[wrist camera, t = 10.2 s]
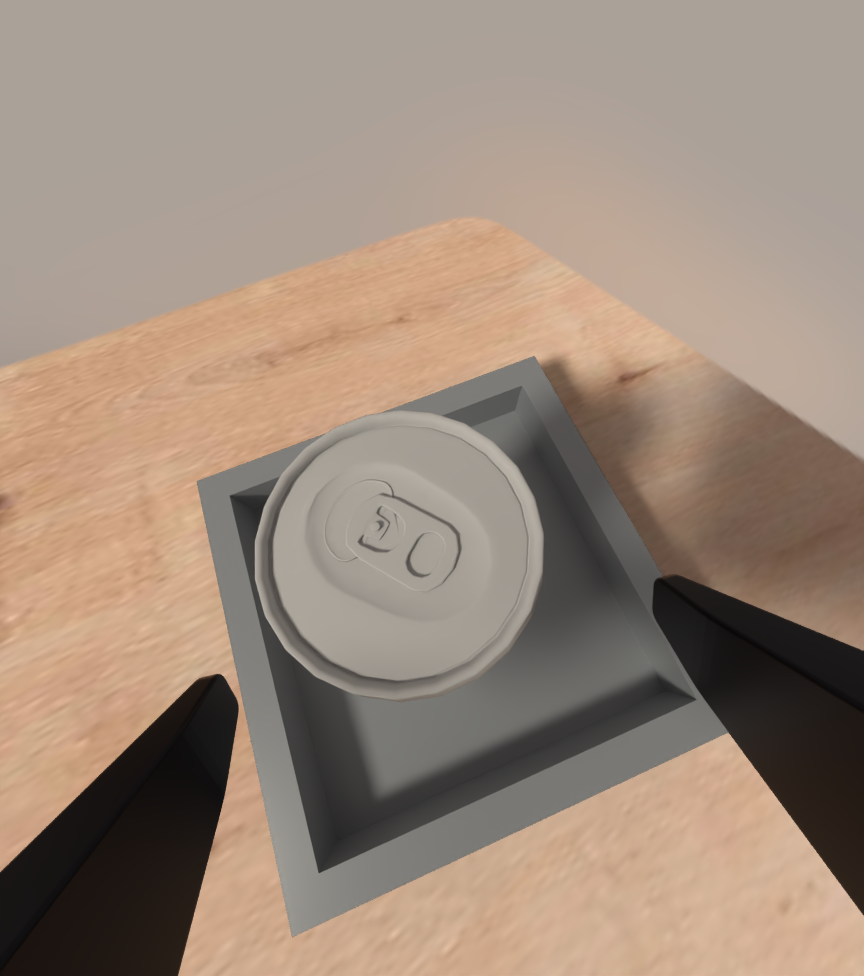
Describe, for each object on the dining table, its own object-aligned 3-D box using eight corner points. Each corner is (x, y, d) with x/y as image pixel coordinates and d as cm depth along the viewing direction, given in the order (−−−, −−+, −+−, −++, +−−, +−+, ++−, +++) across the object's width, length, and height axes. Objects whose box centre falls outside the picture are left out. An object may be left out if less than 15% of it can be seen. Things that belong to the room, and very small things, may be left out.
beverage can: (413, 524, 19) (351, 361, 8) (509, 575, 18) (603, 477, 7) (357, 620, 18) (180, 600, 6) (456, 681, 17) (462, 789, 5)
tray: (698, 707, 17) (749, 722, 14) (321, 880, 15) (292, 937, 12) (523, 391, 22) (534, 356, 19) (232, 502, 20) (196, 481, 18)
